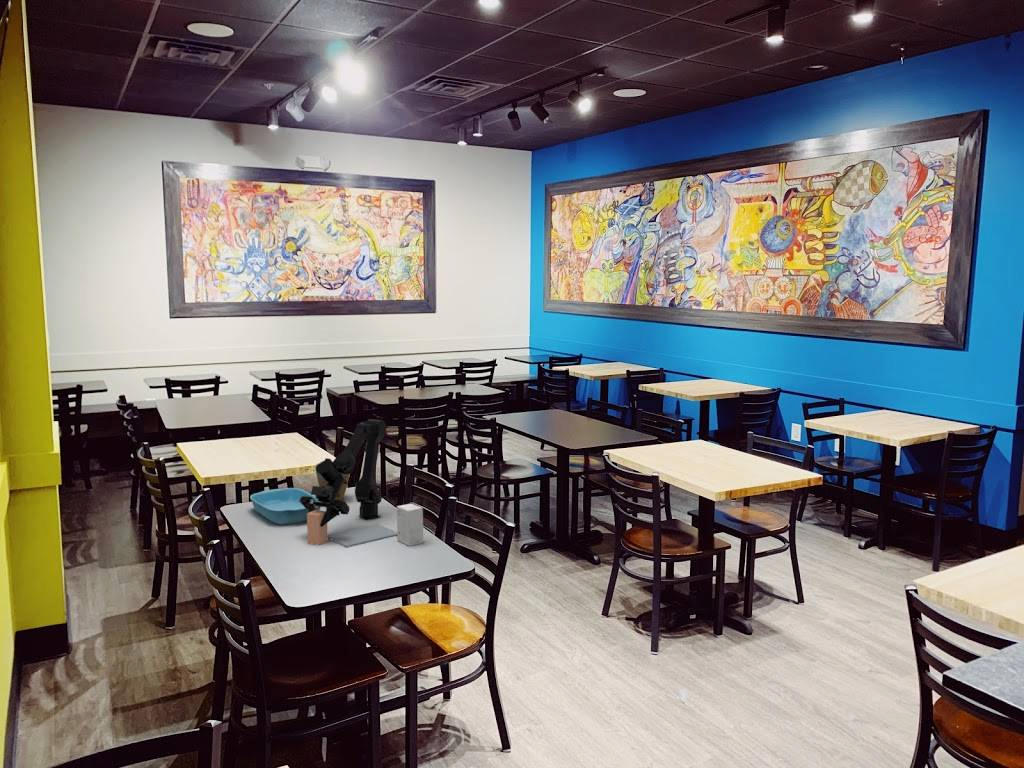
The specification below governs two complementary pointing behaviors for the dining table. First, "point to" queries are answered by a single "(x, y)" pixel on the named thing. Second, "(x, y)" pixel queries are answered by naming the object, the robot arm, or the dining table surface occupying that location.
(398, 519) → the small box
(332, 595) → the dining table surface
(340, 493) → the plant pot
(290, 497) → the casserole dish
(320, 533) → the block
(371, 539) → the mat
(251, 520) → the dining table surface
